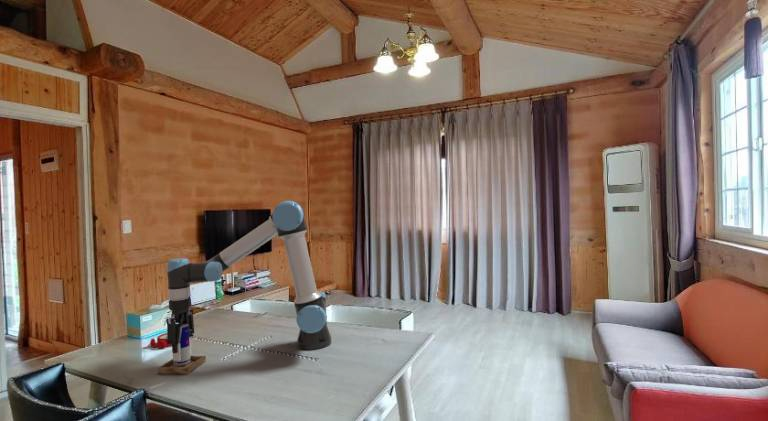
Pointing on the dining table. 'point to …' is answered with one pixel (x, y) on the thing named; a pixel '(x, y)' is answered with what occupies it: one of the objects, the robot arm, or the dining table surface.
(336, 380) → the dining table surface
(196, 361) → the tray
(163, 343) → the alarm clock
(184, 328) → the beverage can
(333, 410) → the dining table surface
